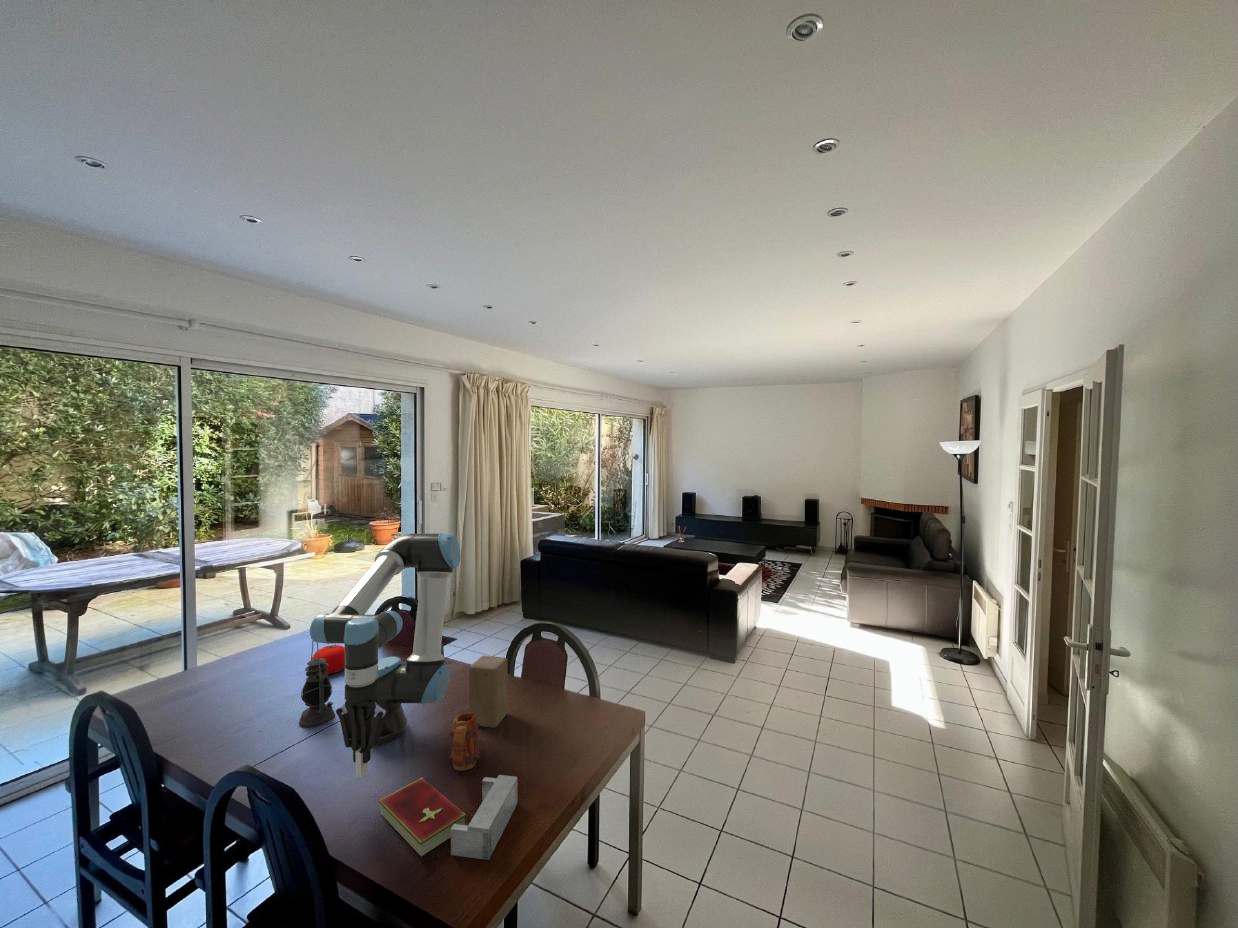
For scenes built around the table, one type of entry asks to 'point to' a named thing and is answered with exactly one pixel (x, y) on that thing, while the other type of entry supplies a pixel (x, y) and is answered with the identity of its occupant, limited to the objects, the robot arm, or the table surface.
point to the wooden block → (488, 690)
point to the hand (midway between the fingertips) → (361, 774)
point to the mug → (464, 741)
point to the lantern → (316, 694)
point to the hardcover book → (421, 815)
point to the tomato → (332, 657)
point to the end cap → (486, 819)
